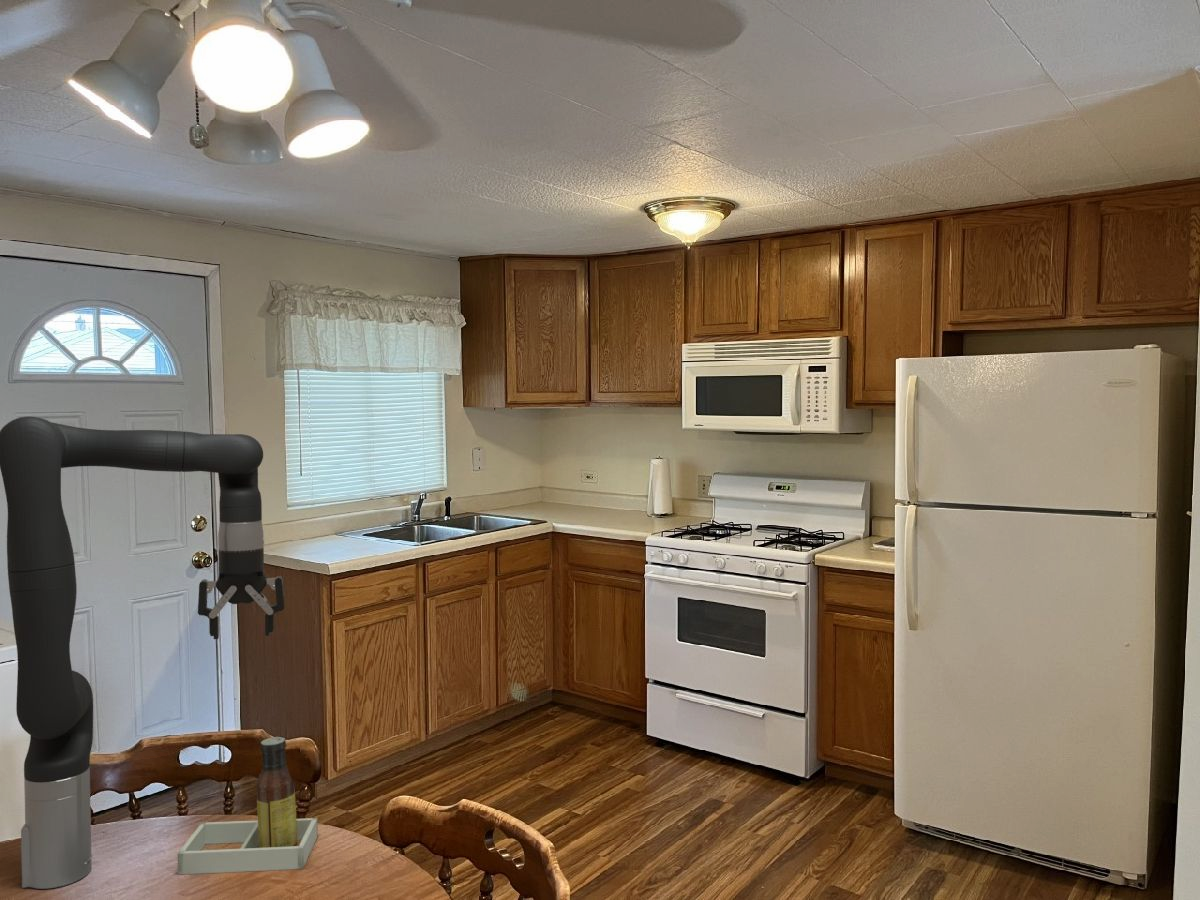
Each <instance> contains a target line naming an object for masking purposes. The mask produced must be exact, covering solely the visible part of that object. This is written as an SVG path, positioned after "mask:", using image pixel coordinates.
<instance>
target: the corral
mask: <svg viewBox="0 0 1200 900" xmlns="http://www.w3.org/2000/svg"><path fill="white" fill-rule="evenodd" d="M318 821H319V819H318V817H310V818H309V817H308V818H296V823H297V841H300V843H299V845H297V846H290V847H268V848H259V835H258V819H256V820H240V821H239V820H238V821H237V820H236V821H234V820H233V821H213V822H212V821H211V822H207V821H206V822H201V823H200V824H199V825H198V827H197V828H196V829H195V831H193V833H192V835H191V836H190V837H189V838H188V839H187V841H186V842H185V844H184V845H183V846H182V847H181V849H180V850H179V851H178V853H177V875H178V876H179V875H200V874H218V873H219V874H222V873H223V874H224V873H245V872H263V871H265V872H266V871H267V872H268V871H283V870H284V871H285V870H287V871H288V870H303V869H304V867H305V865H306V863H307V861H308V859H309V857H308V856H310V855H309V854H311V853H310V852H312V850H313V848H314V846H315V844H316V842H317V840H316V839H318V838H317V837H319V835H318V830H319V828H318V825H319V824H318ZM315 841H316V842H315ZM236 843H237V844H239V843H240V844H241V843H242V845H241V847H240V848H229V849H228V848H227V849H208V850H206V849H203V848H204V846H205V845H217V844H219V845H220V844H236ZM314 843H315V844H314ZM202 849H203V850H202Z"/></svg>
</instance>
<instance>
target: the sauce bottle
mask: <svg viewBox="0 0 1200 900" xmlns="http://www.w3.org/2000/svg"><path fill="white" fill-rule="evenodd" d="M286 742H287V741H286V738H285V737H281V736H273V737H269V738H266V739H265V738H264V739H263V740H262V741H261V742H260V752H261V754H262V758H261V759H262V764H261V767H262V769H261V771H260V773H259V775H258V777H257V781H256V810H257V811H256V812H257V820H258V835H259V845H258V848H268V847H290V846H298V845H297V842H298V840H297V823H296V819H297V809H296V808H297V807H296V791H295V790H296V789H295V785H294V782H293V778H292V776H291V774H290V771H289V768H288V765H287V760H286V747H287V743H286Z"/></svg>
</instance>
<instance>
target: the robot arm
mask: <svg viewBox="0 0 1200 900" xmlns="http://www.w3.org/2000/svg"><path fill="white" fill-rule="evenodd" d="M263 459H264V449H263V446H262V445H261V443H260V442H259V441H258V440H257V439H256V438H254V437H253V436H251V435H248V434H243V433H235V434H232V433H231V434H229V433H228V434H226V433H224V434H223V433H220V434H219V433H217V434H216V433H215V434H214V433H208V434H207V433H205V434H204V433H198V432H193V431H186V430H185V431H181V430H180V431H179V430H163V429H162V430H161V429H128V430H127V429H125V430H123V429H122V430H119V429H118V430H117V429H116V430H115V429H111V430H110V429H95V428H84V427H78V426H71V425H67V424H61V423H57V422H51V421H49V420H48V419H45V418H42V417H37V416H32V415H31V416H22V417H21V416H20V417H18V418H17V417H16V418H15V419H12V420H10V421H9V422H8V423H6V424H5V425H3V427H2V428H1V429H0V473H1V477H2V482H3V486H4V491H5V493H4V494H5V498H6V506H7V523H6V525H7V527H6V555H7V558H6V559H7V562H6V563H7V564H6V565H7V566H6V567H7V578H8V580H7V581H8V591H9V596H10V597H9V598H10V602H11V612H12V613H11V614H12V623H13V631H14V632H13V633H14V637H15V643H16V653H17V679H16V681H17V682H16V683H17V686H16V708H15V709H16V716H17V721H18V722H19V724H20V726H21V728H22V729H23V730H24V731H25V732H26V733H27V734H28V735H30V736H29V737H30V740H29V745H28V750H27V753H26V755H25V759H24V763H23V777H24V778H23V779H24V780H23V781H24V785H23V786H24V789H23V790H24V822H25V823H24V824H23V826H22V828H21V829H20V843H21V844H20V849H21V850H20V851H21V856H20V857H21V888H22V889H23V888H33V889H40V890H41V889H42V890H43V889H45V890H47V889H54V888H59V887H63V886H67V885H70V884H72V883H75V882H78V881H79V880H82V879H83V878H85V877H87V875H88V874H90V872H91V870H92V866H93V865H92V859H93V858H92V857H93V855H92V821H91V820H92V817H91V815H92V814H91V773H90V772H91V771H90V769H91V768H90V766H91V765H90V764H91V760H90V759H91V758H90V757H91V752H92V747H93V741H94V697H93V690H92V689H93V688H92V687H91V684H90V682H89V680H88V679H87V678H86V677H85V676H84V675H83V674H81V673H80V672H78V671H76V670H73V669H72V662H71V653H70V647H71V646H70V645H71V644H70V642H71V634H72V629H73V624H74V618H75V611H76V606H77V605H76V603H77V591H78V590H77V575H76V563H75V561H76V560H75V555H74V549H73V548H74V547H73V544H72V539H71V535H70V531H69V527H68V524H67V520H66V516H65V513H64V508H63V502H62V490H61V489H62V469H64V468H75V467H76V468H77V467H104V468H105V467H108V468H120V469H129V470H137V471H138V470H139V471H150V472H174V473H175V472H176V473H181V472H182V473H191V472H193V473H194V472H206V473H215V474H218V483H219V494H220V495H219V501H218V502H219V505H218V506H219V513H218V514H219V525H218V533H217V535H218V536H217V538H218V539H217V541H218V543H217V546H218V547H217V548H218V550H217V551H218V554H217V555H218V556H217V557H218V578H217V580H207V579H205V578H204V579H202V580H201V581H200V582H199V585H198V600H197V601H198V603H197V614H198V616H204V617H207V618H208V619H209V625H208V626H209V627H208V628H209V629H208V631H209V633H208V634H209V636H210V637H213V640H218V639H219V638H220V620H219V619H220V617H219V614H220V612H222V609H223V608H224V607H225V606H226V605H227V603H229V604H232V605H237V604H251V603H253V602H256V603H257V605H258V606H259V607H260V608H261V609H262V610H263V611H264V612H265V615H264V637H269V636H270V635H271V633H273V631H274V629H275V628H274V625H275V623H274V621H275V618H274V617H275V614H276V613H278V612H282V611H284V609H285V595H284V585H283V584H284V580H283V577H282V576H281V575H277V576H276V577H268V578H266V576H265V557H264V556H265V554H264V552H265V550H264V549H265V548H264V547H265V546H264V545H265V538H264V535H265V534H264V527H263V517H262V515H263V514H262V513H263V512H262V511H263V509H262V508H263V507H262V496H261V495H262V494H261V492H260V490H259V467H260V465H261V464H262V462H263ZM267 585H268V586H269V587H270V588H271V590H273V591H275V598H276V599H275V600H276V603H274V604H273V605H272V604H271V603H270V601H269V600H268V599H267V597H266V596H265V595H264V594H263V593H262V592H263V590H264V589H265V588H266V587H267ZM214 588H216V590H218V592H219V593H220V594H221V597H220V598H219V599H218V601H217V602H216V604H215V605H214V606H213V607H212V608H211V607H210V608H209V607H208V594H211V593H212V591H213V589H214Z"/></svg>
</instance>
